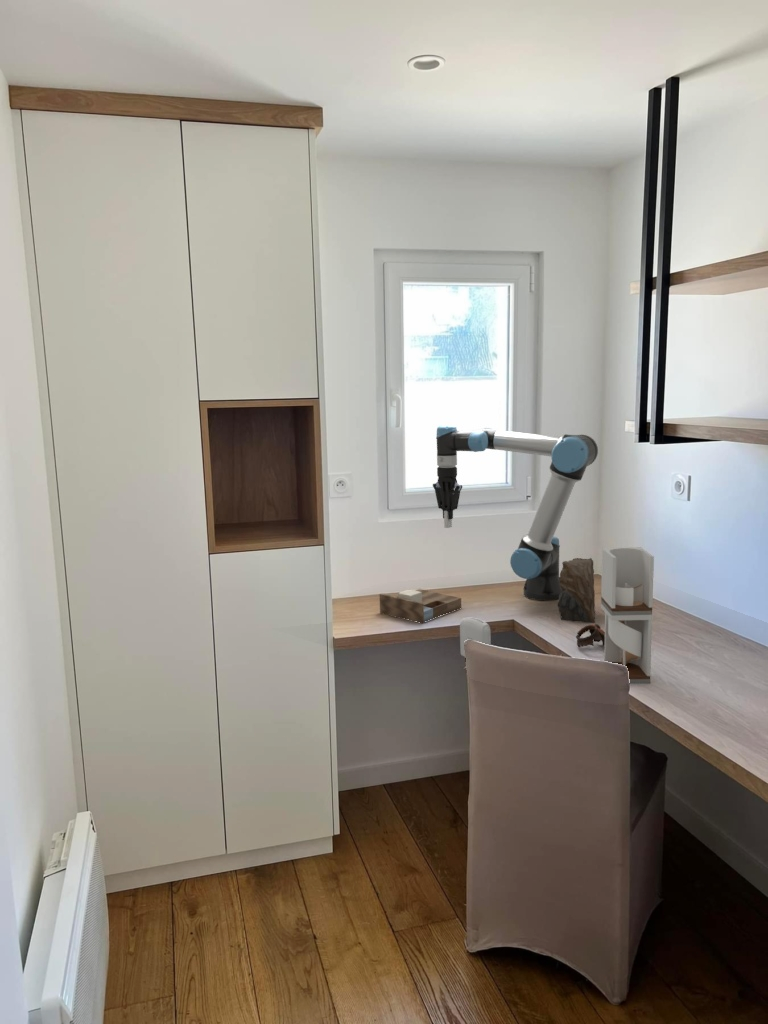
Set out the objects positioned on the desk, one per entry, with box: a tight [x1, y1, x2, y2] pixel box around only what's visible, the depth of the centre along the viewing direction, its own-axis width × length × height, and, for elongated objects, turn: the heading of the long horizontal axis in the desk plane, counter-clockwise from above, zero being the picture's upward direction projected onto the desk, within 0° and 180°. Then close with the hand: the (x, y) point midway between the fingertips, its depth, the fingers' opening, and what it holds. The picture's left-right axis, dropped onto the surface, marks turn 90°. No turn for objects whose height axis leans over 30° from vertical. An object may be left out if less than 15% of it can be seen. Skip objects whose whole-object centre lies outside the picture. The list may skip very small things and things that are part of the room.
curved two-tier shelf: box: [600, 546, 655, 684], centre depth 207 cm, size 11×11×35 cm
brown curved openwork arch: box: [575, 623, 605, 648], centre depth 233 cm, size 12×10×8 cm
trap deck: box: [378, 588, 462, 624], centre depth 275 cm, size 20×22×7 cm
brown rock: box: [557, 557, 596, 624], centre depth 261 cm, size 13×13×20 cm
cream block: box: [397, 589, 422, 603], centre depth 271 cm, size 6×6×4 cm
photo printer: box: [459, 616, 492, 658], centre depth 226 cm, size 10×4×12 cm, turn 39°
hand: (448, 527), depth 292 cm, fingers closed
